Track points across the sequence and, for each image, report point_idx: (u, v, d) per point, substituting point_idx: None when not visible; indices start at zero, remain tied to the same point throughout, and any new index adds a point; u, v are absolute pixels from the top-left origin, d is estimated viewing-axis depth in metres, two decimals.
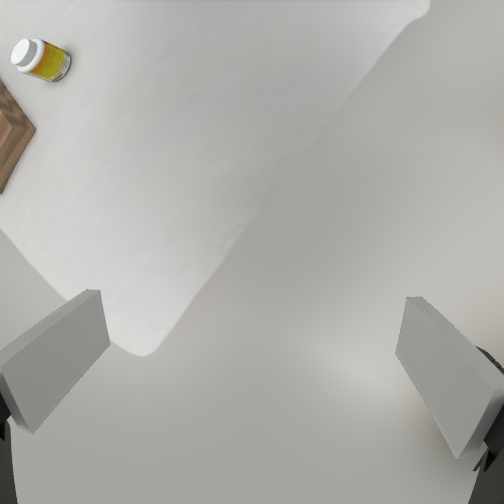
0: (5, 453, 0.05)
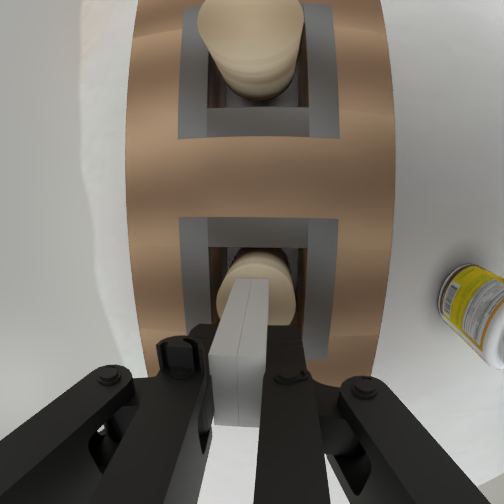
0: (200, 470, 0.06)
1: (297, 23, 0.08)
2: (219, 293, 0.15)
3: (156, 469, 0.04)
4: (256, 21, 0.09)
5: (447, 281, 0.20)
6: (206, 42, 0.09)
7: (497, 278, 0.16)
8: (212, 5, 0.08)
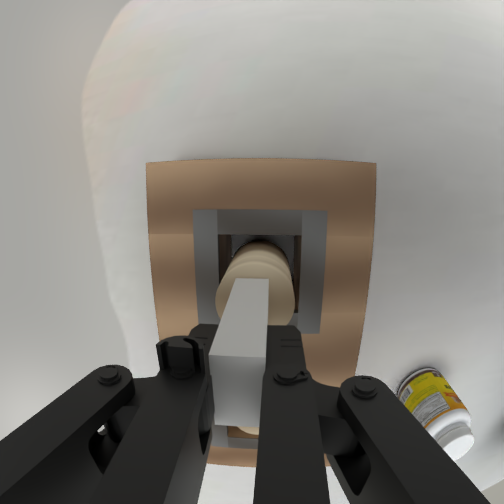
0: (200, 470, 0.06)
1: (289, 311, 0.15)
2: None
3: (156, 469, 0.04)
4: None
5: (405, 383, 0.26)
6: None
7: (441, 391, 0.22)
8: (226, 290, 0.15)
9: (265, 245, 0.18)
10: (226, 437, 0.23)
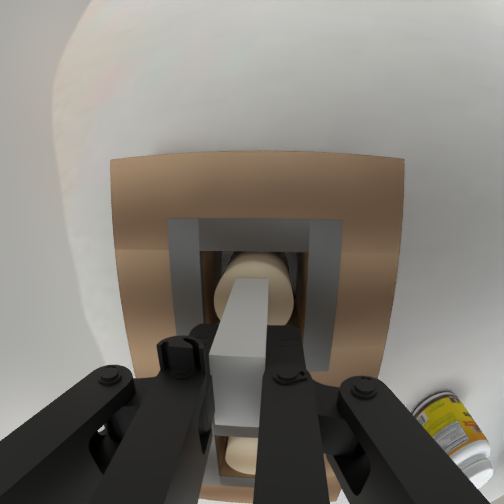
0: (200, 470, 0.06)
1: (288, 310, 0.15)
2: (227, 454, 0.17)
3: (156, 469, 0.04)
4: None
5: (419, 409, 0.22)
6: None
7: (460, 419, 0.18)
8: (224, 290, 0.15)
9: None
10: (218, 475, 0.18)
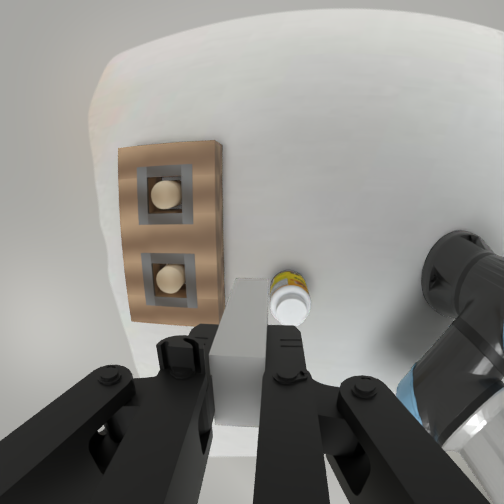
0: (200, 470, 0.06)
1: (175, 197, 0.40)
2: (157, 276, 0.43)
3: (157, 469, 0.04)
4: (165, 197, 0.40)
5: None
6: None
7: (289, 278, 0.43)
8: (154, 190, 0.40)
9: (176, 180, 0.44)
10: (154, 296, 0.43)
